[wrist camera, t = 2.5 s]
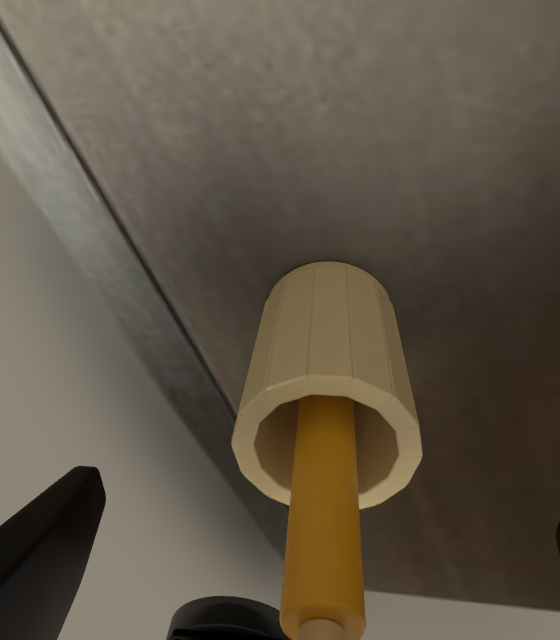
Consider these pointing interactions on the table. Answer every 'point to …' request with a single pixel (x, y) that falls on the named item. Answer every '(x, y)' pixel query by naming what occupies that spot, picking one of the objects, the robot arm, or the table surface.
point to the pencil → (324, 527)
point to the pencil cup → (328, 380)
